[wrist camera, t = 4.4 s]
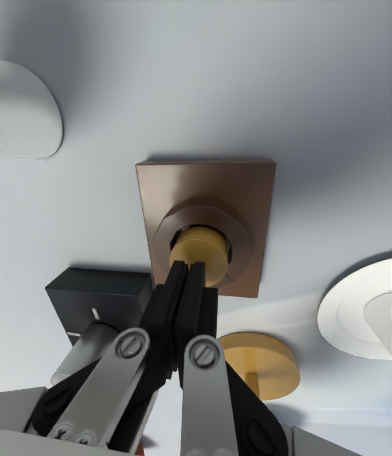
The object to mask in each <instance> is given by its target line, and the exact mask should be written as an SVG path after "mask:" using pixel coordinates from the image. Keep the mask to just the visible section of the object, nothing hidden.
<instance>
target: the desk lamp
mask: <svg viewBox="0 0 392 456" xmlns="http://www.w3.org/2000/svg"><path fill="white" fill-rule="evenodd" d="M218 341H219V342H220V344H221V345H222V347H223V350H224V356H225V360H226V361H227V362H228V363H229V365H230V366H231V367H232V368H233V369H234V370H235V371H236V373H237V374H238V375H239V376H240V377H241V378H242V379H243V381H244V382H245V383H246V384H247V385H248V386H249V387H250V389H251V390H252V391H253V392H254V393H255V394H256V395H257V397H258V398H259V399H260V400H261V401H264V400H273V399H277V398H281V397H284V396H286V395H288V394H290V393H291V392H293V391H294V390H295V389H296V388H297V386H298V385H299V383H300V372H299V369H298V365H297V362H296V359H295V356H294V354H293V352H292V351H291V349H290V348H289V347H288V346H287V345H285V344H284V343H283V342H281V341H279V340H277V339H275V338H273V337H270V336H267V335H263V334H258V333H249V332H244V333H234V334H229V335H226V336H224V337H221V338H219V339H218Z"/></svg>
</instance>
